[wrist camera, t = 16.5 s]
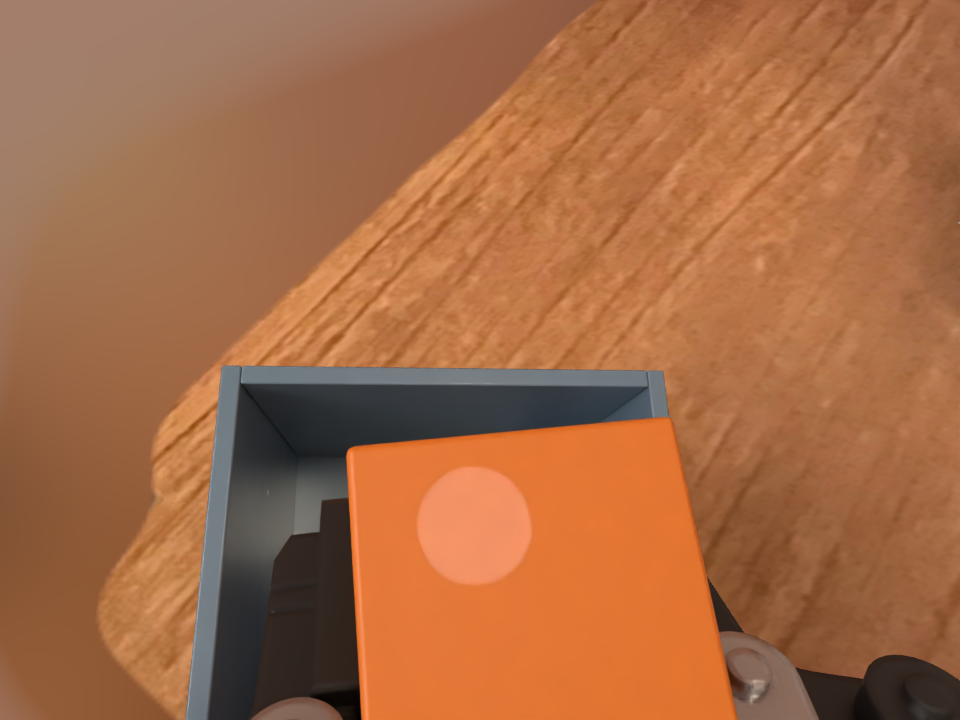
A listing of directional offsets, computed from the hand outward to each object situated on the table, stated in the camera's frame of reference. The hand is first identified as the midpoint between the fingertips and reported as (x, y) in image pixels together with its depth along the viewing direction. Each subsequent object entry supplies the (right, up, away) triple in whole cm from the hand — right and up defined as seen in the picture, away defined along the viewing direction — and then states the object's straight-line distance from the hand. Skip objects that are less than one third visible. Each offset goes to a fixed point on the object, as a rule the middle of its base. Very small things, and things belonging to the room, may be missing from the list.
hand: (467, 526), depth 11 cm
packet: (0, -3, +3) cm, 4 cm away
